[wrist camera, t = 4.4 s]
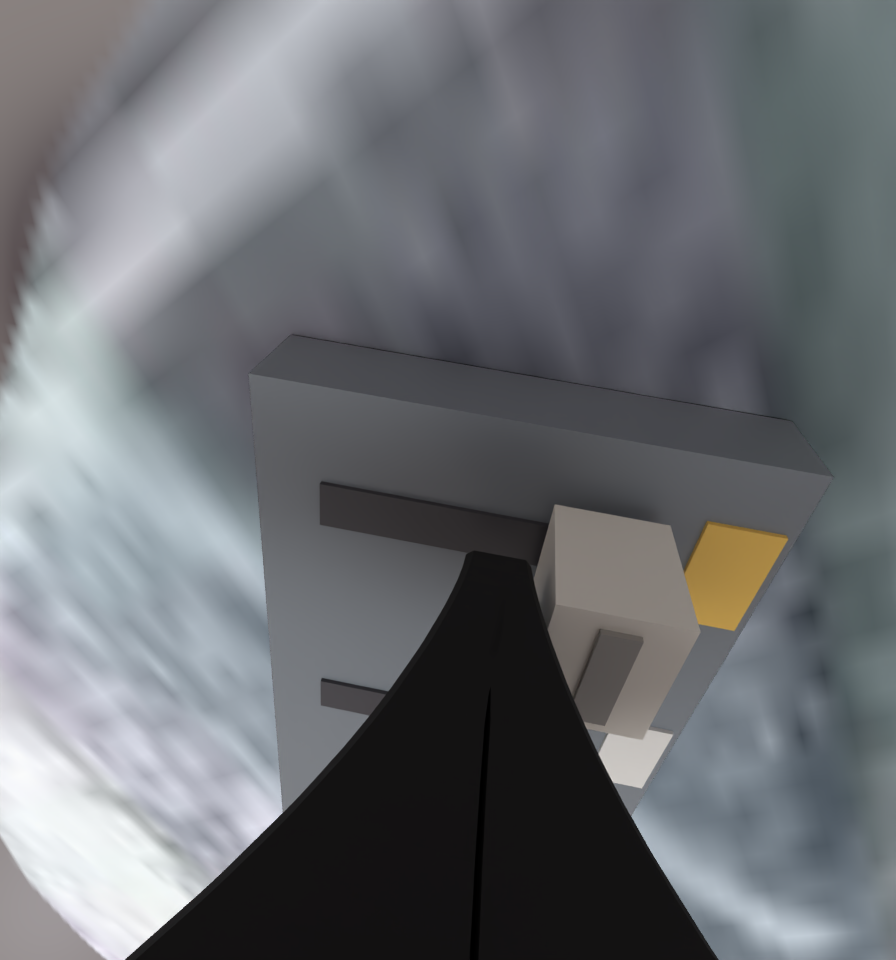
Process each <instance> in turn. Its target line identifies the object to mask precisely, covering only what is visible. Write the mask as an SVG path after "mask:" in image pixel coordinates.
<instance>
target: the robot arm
mask: <svg viewBox="0 0 896 960" xmlns="http://www.w3.org/2000/svg"><path fill="white" fill-rule="evenodd" d="M125 960H718V958H717V957H716V955H715V954H714V952H713V951H712V949H711V948H710V946H709V945H708V943H707V941H706V940H705V938H704V937H703V935H702V933H701V932H700V930H699V929H698V927H697V925H696V924H695V922H694V920H693V919H692V917H691V916H690V914H689V912H688V911H687V909H686V908H685V906H684V904H683V903H682V901H681V900H680V898H679V896H678V895H677V893H676V892H675V890H674V888H673V887H672V885H671V884H670V882H669V880H668V879H667V877H666V875H665V874H664V872H663V871H662V869H661V867H660V866H659V864H658V863H657V861H656V859H655V858H654V856H653V854H652V853H651V851H650V849H649V848H648V846H647V844H646V842H645V840H644V839H643V837H642V835H641V833H640V831H639V830H638V828H637V826H636V824H635V823H634V821H633V819H632V817H631V815H630V814H629V812H628V810H627V808H626V806H625V805H624V803H623V801H622V799H621V797H620V795H619V793H618V791H617V789H616V787H615V786H614V784H613V782H612V780H611V778H610V776H609V774H608V772H607V770H606V768H605V766H604V764H603V762H602V760H601V758H600V756H599V754H598V752H597V750H596V748H595V746H594V743H593V741H592V739H591V737H590V735H589V733H588V730H587V728H586V726H585V724H584V721H583V719H582V717H581V715H580V712H579V710H578V708H577V706H576V703H575V701H574V699H573V696H572V694H571V691H570V689H569V686H568V684H567V682H566V679H565V676H564V674H563V671H562V668H561V666H560V663H559V660H558V658H557V655H556V652H555V650H554V647H553V644H552V641H551V638H550V635H549V632H548V630H547V626H546V623H545V620H544V617H543V613H542V610H541V607H540V603H539V600H538V596H537V592H536V588H535V584H534V579H533V574H532V568H531V566H530V564H529V563H528V562H527V561H526V560H523V559H517V558H512V557H507V556H501V555H496V554H491V553H486V552H480V551H475V550H473V551H471V552H469V553H467V554H466V556H465V560H464V564H463V567H462V569H461V572H460V575H459V577H458V579H457V582H456V584H455V586H454V588H453V590H452V592H451V594H450V596H449V598H448V600H447V602H446V604H445V605H444V607H443V609H442V611H441V613H440V614H439V616H438V618H437V619H436V621H435V623H434V624H433V626H432V628H431V629H430V631H429V632H428V634H427V636H426V637H425V639H424V641H423V642H422V644H421V645H420V647H419V648H418V650H417V651H416V653H415V654H414V656H413V657H412V659H411V660H410V661H409V663H408V664H407V666H406V667H405V669H404V670H403V671H402V673H401V674H400V676H399V677H398V679H397V680H396V681H395V683H394V684H393V686H392V687H391V688H390V690H389V691H388V692H387V694H386V695H385V696H384V698H383V699H382V700H381V702H380V703H379V704H378V705H377V707H376V708H375V709H374V711H373V712H372V713H371V714H370V716H369V717H368V718H367V719H366V721H365V722H364V723H363V724H362V725H361V727H360V728H359V729H358V730H357V731H356V733H355V734H354V735H353V736H352V738H351V739H350V740H349V741H348V742H347V743H346V745H345V746H344V747H343V748H342V749H341V750H340V751H339V753H338V754H337V755H336V756H335V757H334V758H333V759H332V760H331V762H330V763H329V764H328V765H327V766H326V767H325V768H324V769H323V770H322V772H321V773H320V774H319V775H318V776H317V777H316V778H315V779H314V781H313V782H312V783H311V784H310V785H309V786H308V787H307V788H306V789H305V790H304V791H303V792H302V793H301V795H300V796H299V797H298V798H297V799H296V800H295V801H294V802H293V803H292V804H291V805H290V806H289V807H288V808H287V809H286V810H285V811H284V812H283V813H282V814H281V815H280V816H279V817H278V818H277V819H276V820H275V821H274V822H273V823H272V824H271V825H270V826H269V827H268V828H267V829H266V830H265V831H264V832H263V833H262V834H261V835H260V836H259V837H258V838H257V839H256V840H255V841H254V842H253V843H252V844H251V845H250V846H249V847H248V848H247V849H246V850H245V851H244V852H243V853H242V854H241V855H240V856H239V857H238V858H237V859H235V860H234V861H233V862H232V863H231V864H230V865H229V866H228V867H227V868H226V869H225V870H224V871H223V872H222V873H221V874H220V875H219V876H218V877H217V878H216V879H215V880H214V881H213V882H212V883H210V884H209V885H208V886H207V887H206V888H205V889H204V890H203V891H202V892H201V893H200V894H199V895H197V896H196V897H195V898H194V899H193V900H192V901H191V902H189V903H188V904H187V905H186V906H185V907H184V908H183V909H182V910H180V911H179V912H178V913H177V914H176V915H175V916H174V917H173V918H171V919H170V920H169V921H168V922H167V923H166V924H165V925H164V926H162V927H161V928H160V929H159V930H158V931H157V932H156V933H154V934H153V935H152V936H151V937H150V938H149V939H148V940H147V941H145V942H144V943H143V944H142V945H141V946H140V947H139V948H138V949H136V950H135V951H134V952H133V953H132V954H131V955H130V956H129V957H127V958H126V959H125Z"/></svg>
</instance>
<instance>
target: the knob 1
mask: <svg viewBox="0 0 896 960" xmlns="http://www.w3.org/2000/svg"><path fill="white" fill-rule="evenodd" d="M534 584H535V588H536V592H537V596H538V600H539V603H540V607H541V610H542V613H543V617H544V620H545V623H546V626H547V630H548V632H549V635H550V638H551V641H552V644H553V647H554V650H555V652H556V655H557V658H558V660H559V663H560V666H561V668H562V671H563V674H564V676H565V679H566V682H567V684H568V686H569V689H570V691H571V694H572V696H573V699H574V701H575V703H576V706H577V708H578V710H579V712H580V715H581V717H582V719H583V721H584V724H585V726H586V728H587V729H590V730H595V731H600V732H605V733H610V734H615V735H620V736H624V737H629V738H634V739H639V740H643V738H644V736H645V734H646V732H647V731H648V729H649V727H650V725H651V723H652V721H653V719H654V718H655V716H656V714H657V712H658V710H659V708H660V706H661V705H662V703H663V701H664V699H665V697H666V695H667V693H668V692H669V690H670V688H671V686H672V684H673V682H674V681H675V679H676V677H677V675H678V673H679V671H680V669H681V668H682V666H683V664H684V662H685V660H686V658H687V656H688V655H689V653H690V651H691V649H692V647H693V645H694V644H695V642H696V640H697V638H698V636H699V634H700V628H699V625H698V621H697V618H696V614H695V611H694V607H693V603H692V600H691V596H690V593H689V589H688V586H687V582H686V579H685V575H684V572H683V568H682V564H681V561H680V557H679V554H678V550H677V547H676V543H675V540H674V536H673V533H672V529H671V526H670V525H664V524H659V523H654V522H648V521H643V520H637V519H632V518H626V517H621V516H616V515H610V514H605V513H599V512H594V511H588V510H583V509H578V508H572V507H567V506H561V505H556V504H555V505H554V508H553V512H552V515H551V519H550V523H549V526H548V530H547V533H546V537H545V540H544V544H543V548H542V551H541V555H540V558H539V562H538V566H537V569H536V573H535V576H534Z"/></svg>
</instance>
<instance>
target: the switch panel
mask: <svg viewBox="0 0 896 960" xmlns="http://www.w3.org/2000/svg"><path fill="white" fill-rule="evenodd" d="M248 374H249V387H250V400H251V412H252V425H253V438H254V451H255V463H256V476H257V489H258V502H259V514H260V527H261V540H262V552H263V565H264V578H265V591H266V603H267V616H268V629H269V642H270V654H271V667H272V680H273V693H274V705H275V718H276V731H277V744H278V756H279V769H280V782H281V795H282V807H283V812H284V811H285V810H286V809H287V808H288V807H289V806H290V805H291V804H292V803H293V802H294V801H295V800H296V799H297V798H298V797H299V796H300V795H301V793H302V792H303V791H304V790H305V789H306V788H307V787H308V786H309V785H310V784H311V783H312V782H313V781H314V779H315V778H316V777H317V776H318V775H319V774H320V773H321V772H322V770H323V769H324V768H325V767H326V766H327V765H328V764H329V763H330V762H331V760H332V759H333V758H334V757H335V756H336V755H337V754H338V753H339V751H340V750H341V749H342V748H343V747H344V746H345V745H346V743H347V742H348V741H349V740H350V739H351V738H352V736H353V735H354V734H355V733H356V731H357V730H358V729H359V728H360V727H361V725H362V724H363V723H364V722H365V721H366V719H367V718H368V717H369V716H370V714H371V713H372V712H373V711H374V709H375V708H376V707H377V705H378V704H379V703H380V702H381V700H382V699H383V698H384V696H385V695H386V694H387V692H388V691H389V690H390V688H391V687H392V686H393V684H394V683H395V681H396V680H397V679H398V677H399V676H400V674H401V673H402V671H403V670H404V669H405V667H406V666H407V664H408V663H409V661H410V660H411V659H412V657H413V656H414V654H415V653H416V651H417V650H418V648H419V647H420V645H421V644H422V642H423V641H424V639H425V637H426V636H427V634H428V632H429V631H430V629H431V628H432V626H433V624H434V623H435V621H436V619H437V618H438V616H439V614H440V613H441V611H442V609H443V607H444V605H445V604H446V602H447V600H448V598H449V596H450V594H451V592H452V590H453V588H454V586H455V584H456V582H457V579H458V577H459V575H460V572H461V569H462V567H463V564H464V560H465V556H466V554H467V553H469V552H471V551H473V550H475V551H480V552H486V553H491V554H496V555H501V556H507V557H512V558H517V559H523V560H526V561H527V562H528V563H529V564H530V566H531V568H532V574H533V579H534V576H535V573H536V569H537V566H538V562H539V558H540V555H541V551H542V548H543V544H544V540H545V537H546V533H547V530H548V526H549V523H550V519H551V515H552V512H553V508H554V505H555V504H556V505H561V506H567V507H572V508H578V509H583V510H588V511H594V512H599V513H605V514H610V515H616V516H621V517H626V518H632V519H637V520H643V521H648V522H654V523H659V524H664V525H670V526H671V529H672V533H673V536H674V540H675V543H676V547H677V550H678V554H679V557H680V561H681V564H682V568H683V572H684V575H685V579H686V582H687V586H688V589H689V593H690V596H691V600H692V603H693V607H694V611H695V614H696V618H697V621H698V625H699V628H700V634H699V636H698V638H697V640H696V642H695V644H694V645H693V647H692V649H691V651H690V653H689V655H688V656H687V658H686V660H685V662H684V664H683V666H682V668H681V669H680V671H679V673H678V675H677V677H676V679H675V681H674V682H673V684H672V686H671V688H670V690H669V692H668V693H667V695H666V697H665V699H664V701H663V703H662V705H661V706H660V708H659V710H658V712H657V714H656V716H655V718H654V719H653V721H652V723H651V725H650V727H649V729H648V731H647V732H646V734H645V736H644V738H643V740H639V739H634V738H629V737H624V736H620V735H615V734H610V733H605V732H600V731H595V730H590V729H587V730H588V733H589V735H590V737H591V739H592V741H593V743H594V746H595V748H596V750H597V752H598V754H599V756H600V758H601V760H602V762H603V764H604V766H605V768H606V770H607V772H608V774H609V776H610V778H611V780H612V782H613V784H614V786H615V787H616V789H617V791H618V793H619V795H620V797H621V799H622V801H623V803H624V805H625V806H626V808H627V810H628V812H629V814H630V815H631V816H632V814H633V812H634V811H635V809H636V807H637V806H638V804H639V802H640V801H641V799H642V797H643V796H644V794H645V792H646V791H647V789H648V787H649V786H650V784H651V782H652V781H653V779H654V777H655V775H656V774H657V772H658V770H659V769H660V767H661V765H662V764H663V762H664V760H665V759H666V757H667V755H668V754H669V752H670V750H671V749H672V747H673V745H674V744H675V742H676V740H677V739H678V737H679V735H680V734H681V732H682V730H683V729H684V727H685V725H686V724H687V722H688V720H689V719H690V717H691V715H692V714H693V712H694V710H695V709H696V707H697V705H698V704H699V702H700V700H701V699H702V697H703V695H704V694H705V692H706V690H707V689H708V687H709V685H710V684H711V682H712V680H713V679H714V677H715V675H716V674H717V672H718V670H719V669H720V667H721V665H722V664H723V662H724V660H725V659H726V657H727V655H728V654H729V652H730V650H731V649H732V647H733V645H734V644H735V642H736V640H737V639H738V637H739V635H740V634H741V632H742V630H743V628H744V627H745V625H746V623H747V622H748V620H749V618H750V617H751V615H752V613H753V612H754V610H755V608H756V607H757V605H758V603H759V602H760V600H761V598H762V597H763V595H764V593H765V592H766V590H767V588H768V587H769V585H770V583H771V582H772V580H773V578H774V577H775V575H776V573H777V572H778V570H779V568H780V567H781V565H782V563H783V562H784V560H785V558H786V557H787V555H788V553H789V552H790V550H791V548H792V547H793V545H794V543H795V542H796V540H797V538H798V537H799V535H800V533H801V532H802V530H803V528H804V527H805V525H806V523H807V522H808V520H809V518H810V517H811V515H812V513H813V512H814V510H815V508H816V507H817V505H818V503H819V502H820V500H821V498H822V497H823V495H824V493H825V492H826V490H827V488H828V486H829V485H830V483H831V481H832V480H833V478H834V476H833V475H832V474H831V472H830V471H829V470H828V468H827V467H826V466H825V464H824V463H823V462H822V460H821V459H820V458H819V456H818V455H817V454H816V452H815V451H814V450H813V448H812V447H811V446H810V444H809V443H808V442H807V440H806V439H805V438H804V436H803V435H802V434H801V432H800V431H799V430H798V428H797V427H796V426H795V424H794V423H793V422H792V421H788V420H782V419H776V418H770V417H765V416H759V415H753V414H747V413H741V412H736V411H730V410H724V409H718V408H712V407H707V406H701V405H695V404H689V403H684V402H678V401H672V400H666V399H660V398H655V397H649V396H643V395H637V394H631V393H626V392H620V391H614V390H608V389H602V388H597V387H591V386H585V385H579V384H573V383H568V382H562V381H556V380H550V379H544V378H539V377H533V376H527V375H521V374H516V373H510V372H504V371H498V370H492V369H487V368H481V367H475V366H469V365H463V364H458V363H452V362H446V361H440V360H434V359H429V358H423V357H417V356H411V355H405V354H400V353H394V352H388V351H382V350H376V349H371V348H365V347H359V346H353V345H347V344H342V343H336V342H330V341H324V340H319V339H313V338H307V337H301V336H295V335H290V336H289V337H288V338H287V339H286V340H285V341H283V342H282V343H281V344H280V345H279V346H278V347H277V348H276V349H275V350H274V351H273V352H271V353H270V354H269V355H268V356H267V357H266V358H265V359H264V360H263V361H262V362H260V363H259V364H258V365H257V366H256V367H255V368H254V369H253V370H252V371H251V372H250V373H248Z"/></svg>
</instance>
